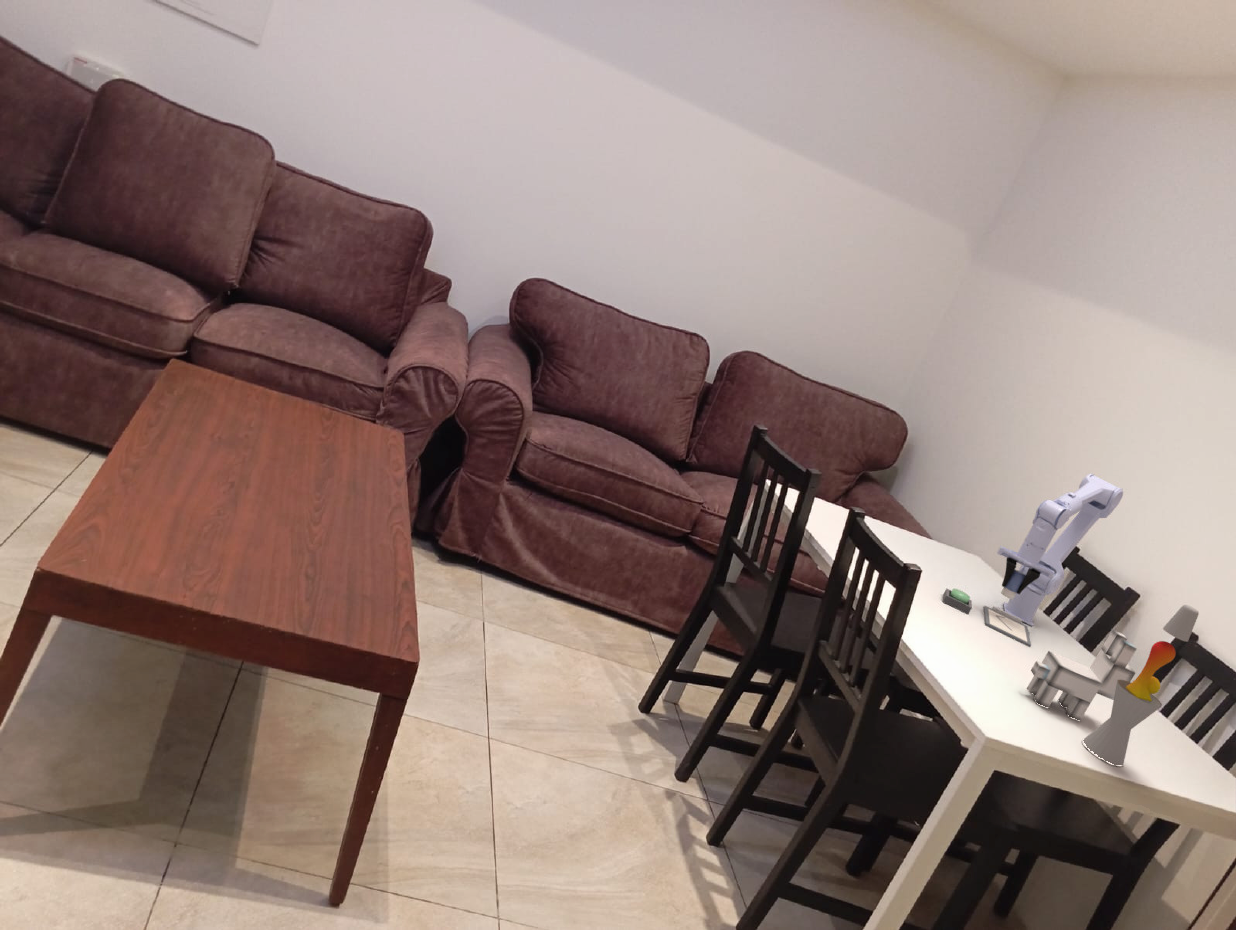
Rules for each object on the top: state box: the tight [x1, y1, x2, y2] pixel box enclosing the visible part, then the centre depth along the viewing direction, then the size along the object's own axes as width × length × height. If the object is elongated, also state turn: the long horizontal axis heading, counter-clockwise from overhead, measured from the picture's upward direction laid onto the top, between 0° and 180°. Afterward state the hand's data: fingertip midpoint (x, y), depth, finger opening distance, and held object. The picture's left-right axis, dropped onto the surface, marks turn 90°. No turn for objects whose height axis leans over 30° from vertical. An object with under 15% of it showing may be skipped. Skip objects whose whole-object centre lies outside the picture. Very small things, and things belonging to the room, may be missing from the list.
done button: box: [949, 588, 971, 605], centre depth 268 cm, size 5×5×2 cm
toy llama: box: [1026, 629, 1138, 721], centre depth 223 cm, size 8×18×20 cm, turn 85°
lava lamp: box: [1082, 604, 1199, 766], centre depth 205 cm, size 9×9×35 cm
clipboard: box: [983, 605, 1032, 648], centre depth 268 cm, size 16×12×2 cm
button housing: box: [942, 587, 973, 615], centre depth 269 cm, size 7×7×2 cm
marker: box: [1000, 569, 1026, 600], centre depth 269 cm, size 3×3×7 cm
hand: (1010, 589), depth 269 cm, fingers closed on marker, 3 cm apart
